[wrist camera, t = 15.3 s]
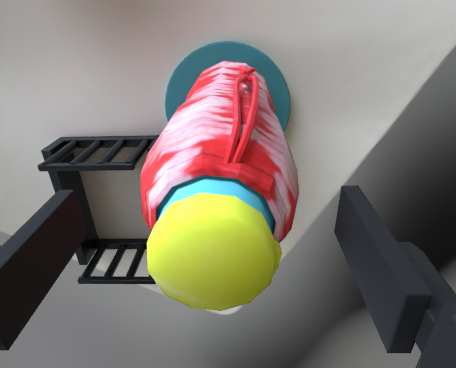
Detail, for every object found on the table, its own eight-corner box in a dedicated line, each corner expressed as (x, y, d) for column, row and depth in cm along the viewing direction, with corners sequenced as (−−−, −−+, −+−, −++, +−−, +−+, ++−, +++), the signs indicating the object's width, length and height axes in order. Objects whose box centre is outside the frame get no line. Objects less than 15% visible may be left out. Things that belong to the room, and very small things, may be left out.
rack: (92, 244, 43) (66, 285, 36) (60, 136, 36) (20, 163, 29) (180, 244, 42) (168, 285, 36) (165, 135, 35) (148, 162, 29)
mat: (173, 165, 37) (172, 167, 36) (158, 43, 31) (156, 44, 30) (285, 163, 36) (286, 165, 35) (293, 39, 30) (294, 39, 29)
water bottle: (241, 171, 36) (241, 416, 14) (174, 147, 35) (61, 372, 13) (287, 68, 31) (406, 203, 9) (210, 35, 29) (118, 96, 7)
